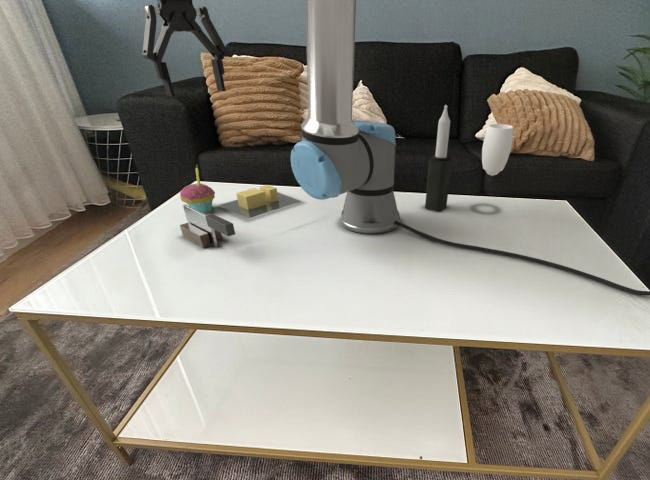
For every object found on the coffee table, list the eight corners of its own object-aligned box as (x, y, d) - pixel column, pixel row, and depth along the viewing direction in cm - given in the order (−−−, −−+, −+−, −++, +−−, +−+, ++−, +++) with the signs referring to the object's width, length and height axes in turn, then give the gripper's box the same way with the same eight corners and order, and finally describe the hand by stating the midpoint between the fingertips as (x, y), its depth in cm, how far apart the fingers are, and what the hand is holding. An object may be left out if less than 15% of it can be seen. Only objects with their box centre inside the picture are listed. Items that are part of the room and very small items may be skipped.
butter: (266, 204, 113) (264, 191, 111) (248, 210, 109) (245, 197, 107) (257, 200, 115) (254, 187, 113) (238, 206, 112) (236, 193, 109)
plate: (301, 203, 116) (301, 201, 116) (248, 220, 105) (247, 218, 105) (271, 191, 123) (271, 189, 122) (218, 207, 112) (218, 205, 112)
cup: (467, 207, 116) (479, 124, 102) (486, 202, 119) (500, 122, 105) (485, 215, 111) (500, 130, 98) (504, 210, 114) (521, 127, 101)
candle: (432, 203, 118) (441, 102, 102) (447, 206, 116) (460, 104, 100) (423, 208, 115) (431, 105, 98) (439, 212, 113) (450, 107, 96)
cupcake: (223, 207, 112) (212, 160, 105) (210, 218, 106) (197, 170, 98) (194, 205, 113) (180, 159, 105) (179, 217, 106) (164, 168, 99)
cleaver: (240, 256, 90) (233, 223, 85) (233, 259, 89) (225, 225, 84) (195, 232, 99) (186, 201, 94) (188, 234, 98) (179, 203, 93)
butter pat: (278, 200, 115) (276, 188, 113) (271, 203, 114) (269, 190, 112) (268, 197, 118) (266, 184, 115) (261, 199, 116) (259, 186, 114)
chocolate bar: (223, 241, 96) (220, 229, 94) (203, 248, 93) (199, 235, 91) (203, 230, 100) (199, 218, 98) (183, 237, 97) (179, 225, 95)
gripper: (212, -20, 97) (232, 87, 110) (100, -28, 82) (140, 96, 96) (229, -21, 93) (248, 89, 106) (115, -30, 78) (154, 99, 92)
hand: (197, 93), depth 101 cm, fingers open, 13 cm apart
